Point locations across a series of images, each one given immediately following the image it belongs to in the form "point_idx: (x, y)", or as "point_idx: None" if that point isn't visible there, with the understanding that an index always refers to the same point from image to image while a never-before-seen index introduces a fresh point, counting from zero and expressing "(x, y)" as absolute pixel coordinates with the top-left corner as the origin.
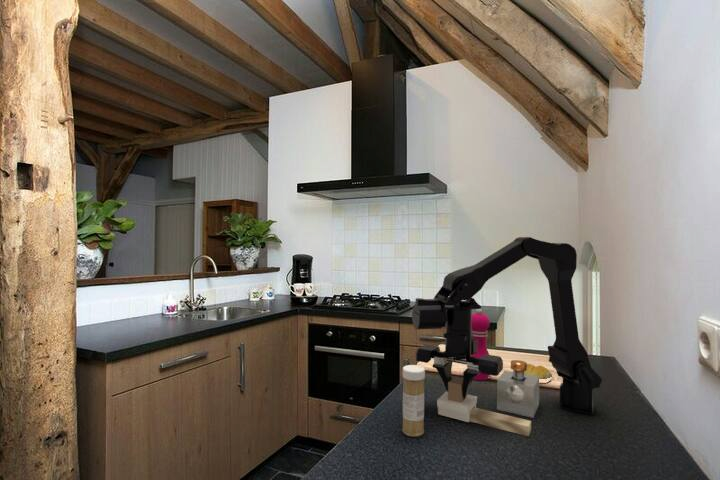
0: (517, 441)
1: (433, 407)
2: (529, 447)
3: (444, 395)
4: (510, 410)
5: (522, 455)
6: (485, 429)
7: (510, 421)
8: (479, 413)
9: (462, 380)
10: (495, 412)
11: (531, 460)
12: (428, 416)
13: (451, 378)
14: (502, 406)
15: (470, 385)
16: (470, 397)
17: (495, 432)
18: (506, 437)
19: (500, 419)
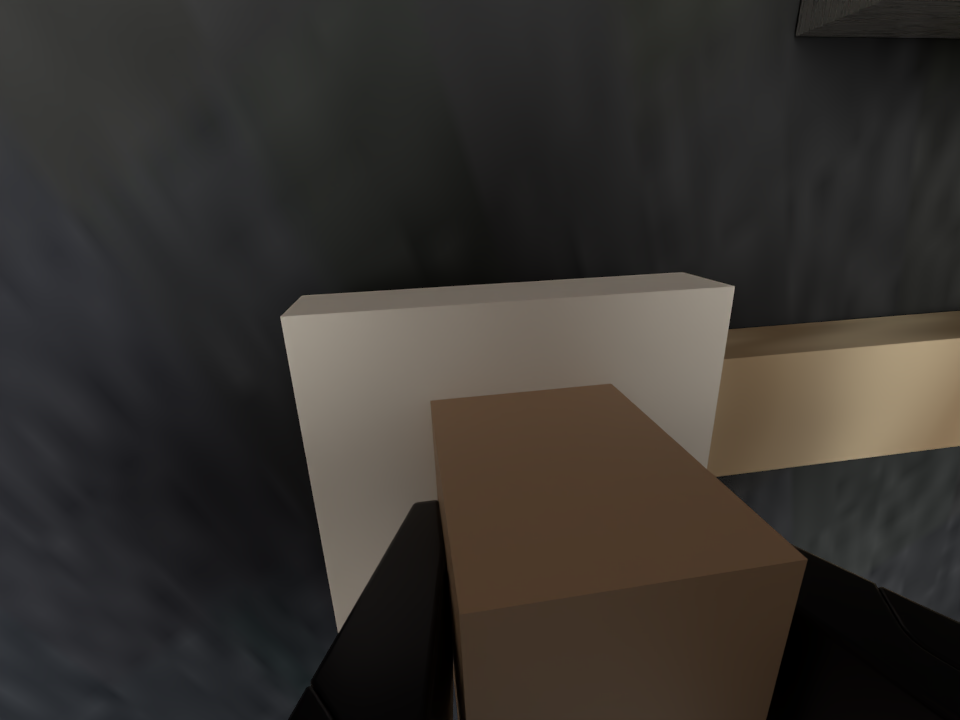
0: (906, 495)
1: (227, 397)
2: (957, 514)
3: (349, 524)
4: (942, 29)
5: (911, 600)
6: (728, 481)
7: (956, 432)
8: (724, 455)
9: (721, 670)
10: (854, 345)
11: (942, 611)
12: (301, 567)
13: (435, 702)
14: (893, 22)
15: (825, 571)
16: (662, 374)
17: (789, 477)
18: (851, 492)
19: (887, 451)
